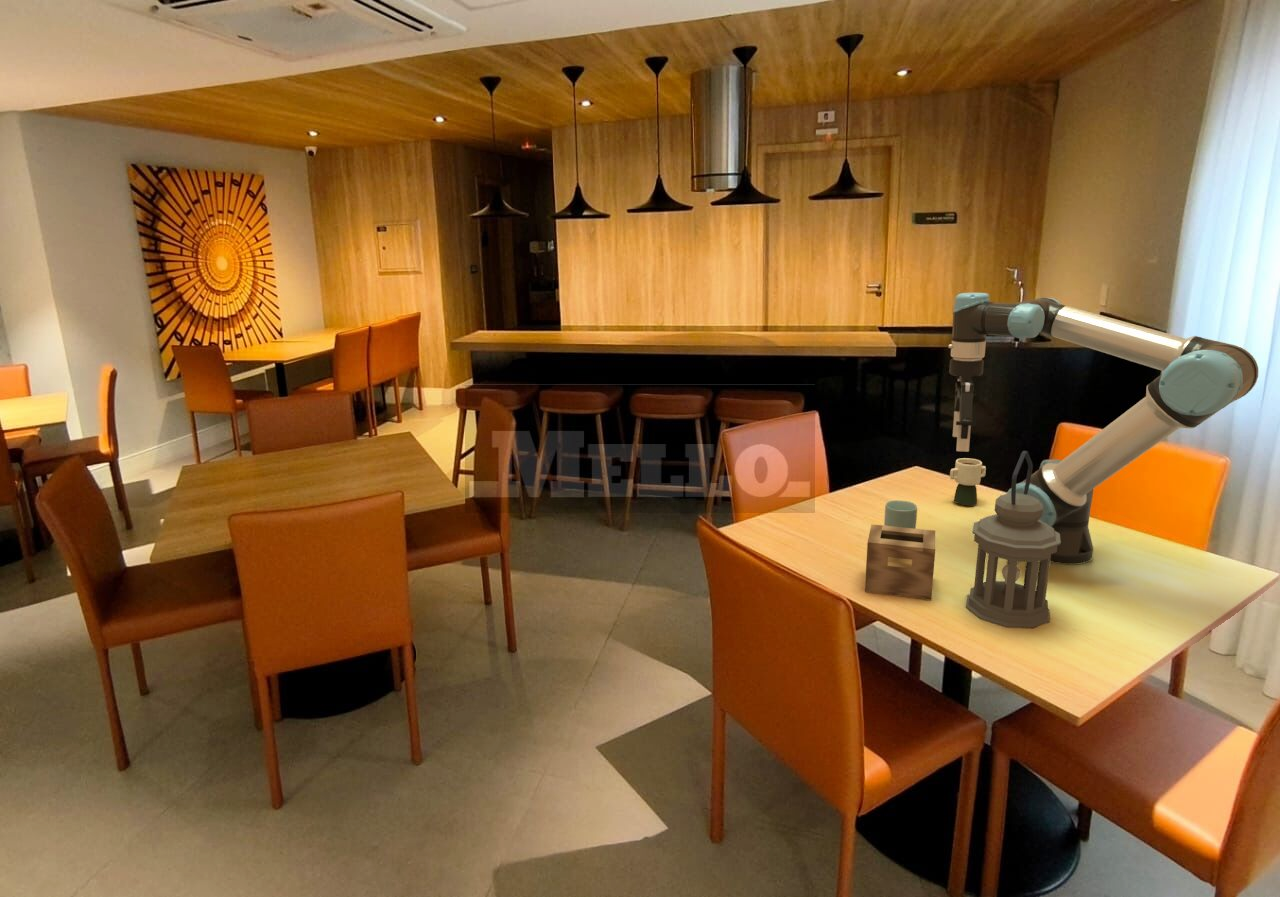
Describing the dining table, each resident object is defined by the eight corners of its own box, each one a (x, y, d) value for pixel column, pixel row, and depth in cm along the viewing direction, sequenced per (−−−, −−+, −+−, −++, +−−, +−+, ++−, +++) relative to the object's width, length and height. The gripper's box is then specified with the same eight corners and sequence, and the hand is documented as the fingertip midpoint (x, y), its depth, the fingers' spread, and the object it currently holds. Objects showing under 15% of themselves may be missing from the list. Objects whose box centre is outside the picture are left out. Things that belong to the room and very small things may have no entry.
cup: (916, 548, 191) (919, 511, 188) (884, 546, 193) (887, 510, 190) (912, 536, 198) (915, 500, 196) (881, 535, 200) (883, 499, 197)
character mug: (975, 498, 224) (979, 456, 221) (989, 506, 217) (993, 463, 214) (941, 501, 223) (944, 459, 219) (954, 509, 216) (958, 466, 212)
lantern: (973, 584, 171) (988, 436, 161) (1056, 602, 162) (1077, 446, 152) (955, 615, 158) (970, 455, 148) (1045, 637, 148) (1067, 468, 139)
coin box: (931, 578, 174) (935, 530, 171) (931, 600, 164) (935, 549, 161) (868, 571, 179) (871, 524, 176) (864, 591, 169) (867, 542, 166)
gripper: (947, 350, 193) (941, 430, 199) (953, 366, 170) (947, 456, 176) (978, 350, 191) (972, 431, 196) (989, 367, 168) (981, 458, 174)
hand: (960, 443), depth 186 cm, fingers open, 13 cm apart
